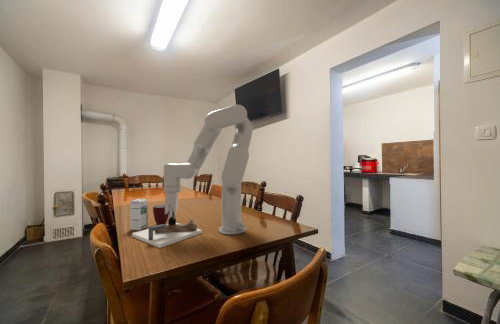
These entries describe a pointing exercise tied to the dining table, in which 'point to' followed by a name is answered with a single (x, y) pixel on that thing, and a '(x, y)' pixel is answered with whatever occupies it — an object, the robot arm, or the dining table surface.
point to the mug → (160, 214)
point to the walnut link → (179, 227)
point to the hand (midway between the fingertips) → (172, 227)
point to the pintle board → (165, 236)
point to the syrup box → (138, 214)
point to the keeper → (153, 228)
